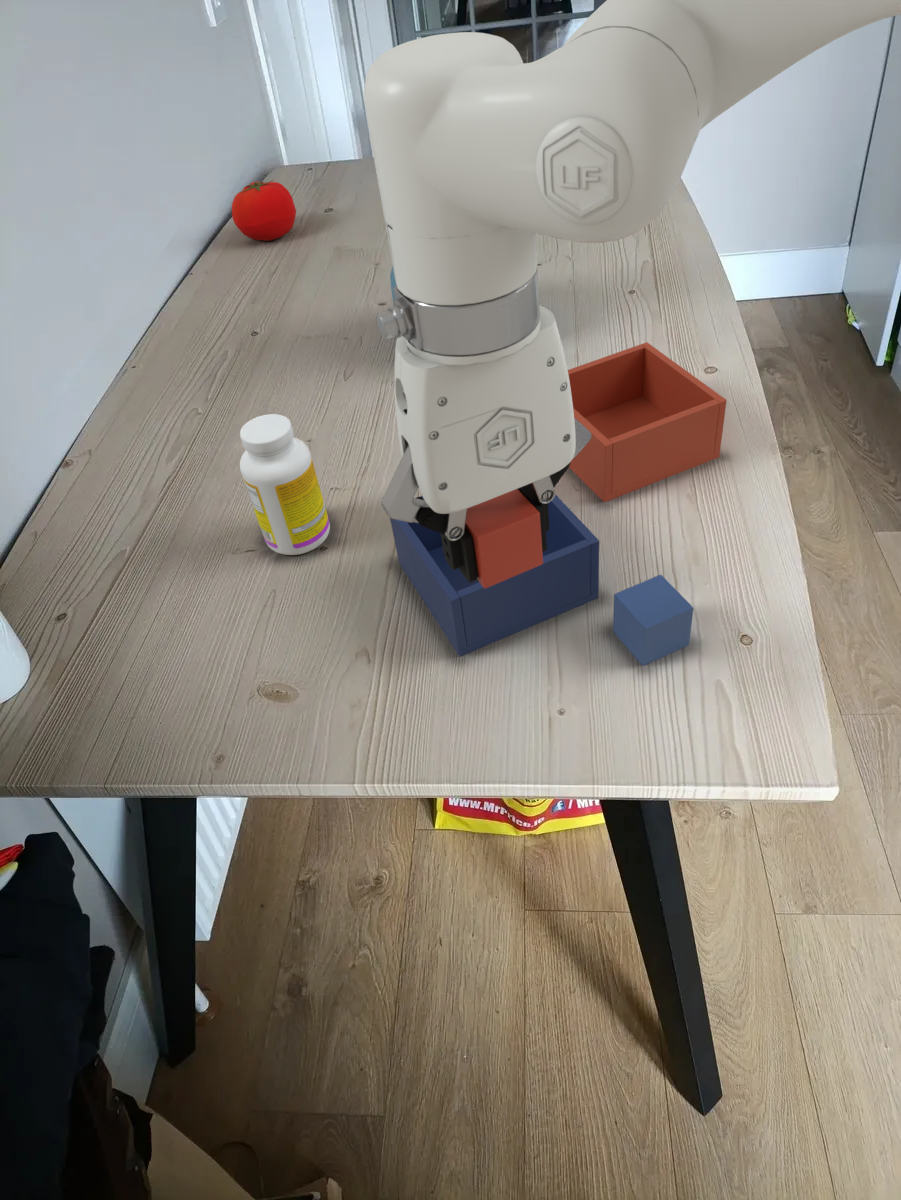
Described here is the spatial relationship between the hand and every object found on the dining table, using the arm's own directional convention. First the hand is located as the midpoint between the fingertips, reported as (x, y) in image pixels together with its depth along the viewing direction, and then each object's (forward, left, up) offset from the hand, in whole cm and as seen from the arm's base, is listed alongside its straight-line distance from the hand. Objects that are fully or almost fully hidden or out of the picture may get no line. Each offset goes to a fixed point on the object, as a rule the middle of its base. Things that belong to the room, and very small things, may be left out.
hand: (498, 553), depth 60 cm
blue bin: (-5, -12, -15) cm, 20 cm away
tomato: (-10, -103, -15) cm, 105 cm away
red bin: (-26, -23, -15) cm, 38 cm away
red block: (0, 0, 0) cm, 0 cm away
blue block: (-13, +1, -15) cm, 20 cm away
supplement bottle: (+9, -28, -15) cm, 34 cm away
